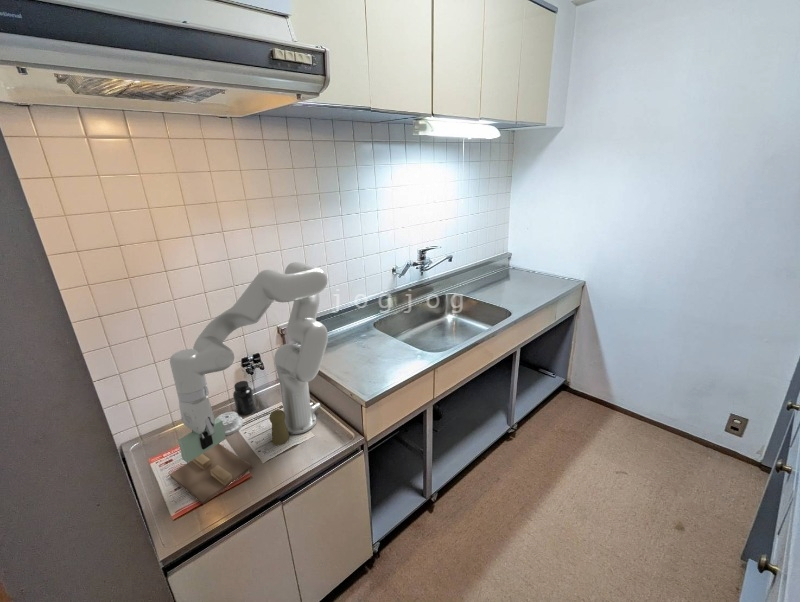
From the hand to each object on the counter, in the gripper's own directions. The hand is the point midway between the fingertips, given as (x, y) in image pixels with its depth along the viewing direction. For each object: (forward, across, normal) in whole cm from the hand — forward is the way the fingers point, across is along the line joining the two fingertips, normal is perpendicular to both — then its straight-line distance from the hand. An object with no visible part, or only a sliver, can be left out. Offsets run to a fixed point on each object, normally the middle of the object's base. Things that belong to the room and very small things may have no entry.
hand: (204, 443), depth 111 cm
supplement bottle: (+11, -18, +25) cm, 33 cm away
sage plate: (+2, 0, 0) cm, 2 cm away
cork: (+11, +6, +22) cm, 25 cm away
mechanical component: (+11, -15, +16) cm, 25 cm away
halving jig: (+11, 0, 0) cm, 11 cm away
